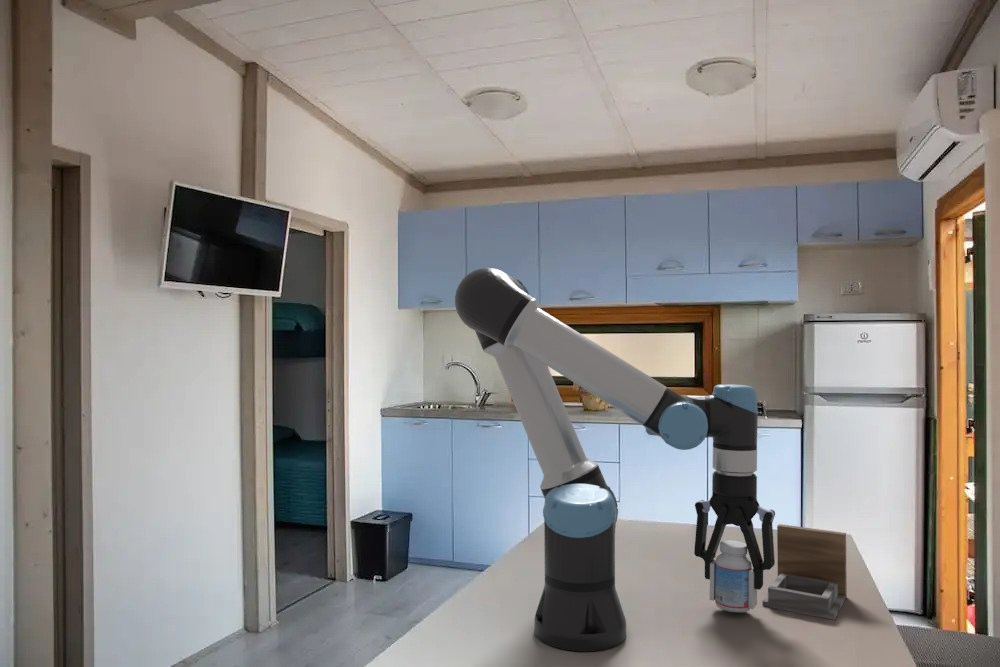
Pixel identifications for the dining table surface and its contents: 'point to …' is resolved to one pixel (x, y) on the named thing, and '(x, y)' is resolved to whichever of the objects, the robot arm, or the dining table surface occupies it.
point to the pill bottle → (732, 577)
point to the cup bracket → (809, 572)
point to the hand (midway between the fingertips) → (733, 601)
